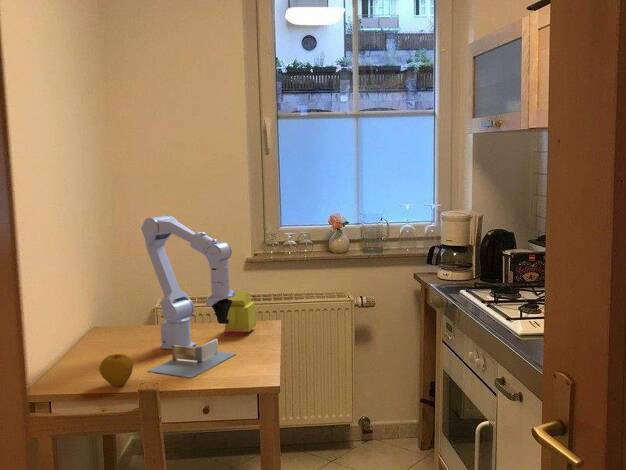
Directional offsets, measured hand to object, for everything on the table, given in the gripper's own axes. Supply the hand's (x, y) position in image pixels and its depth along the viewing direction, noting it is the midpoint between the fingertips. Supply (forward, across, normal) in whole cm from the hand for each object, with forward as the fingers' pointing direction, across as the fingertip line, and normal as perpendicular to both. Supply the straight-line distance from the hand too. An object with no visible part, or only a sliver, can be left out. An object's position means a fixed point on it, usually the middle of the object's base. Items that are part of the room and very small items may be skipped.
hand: (222, 323), depth 205 cm
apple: (+10, -35, +13) cm, 38 cm away
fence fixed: (+10, -7, +2) cm, 12 cm away
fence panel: (+9, -11, +7) cm, 16 cm away
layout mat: (+10, -11, +4) cm, 16 cm away
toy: (+10, +23, +8) cm, 27 cm away
